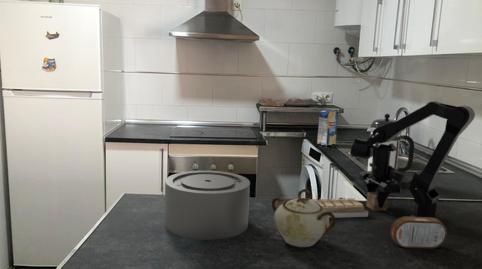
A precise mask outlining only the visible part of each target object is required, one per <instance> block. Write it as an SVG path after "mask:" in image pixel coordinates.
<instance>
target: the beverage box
mask: <svg viewBox="0 0 482 269" xmlns="http://www.w3.org/2000/svg"><path fill="white" fill-rule="evenodd" d="M318 114H319V115H318V128H317V140H316V142H317V143H316V145H317V144H321V145H326V146H327V145H332V144H337V131H338V118H339V111H337V110H321V111H319V113H318Z"/></svg>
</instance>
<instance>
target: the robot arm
mask: <svg viewBox="0 0 482 269" xmlns="http://www.w3.org/2000/svg"><path fill="white" fill-rule="evenodd" d="M432 116H436V117H439V118H442V119H444V120H446V122H445V129H444V132H443V133H442V135H441V137H440V139H439V141H438V143H437V145H436V146H435V148H434V151H433V152H432V154H431V155H430V158H429V160H428V161H427V163H426V165H425V167H424V168H423V170H418V171H415V172H414V174H413V176H412V179H411V180H410V181H409V182H408V184H409V191H410V194H411V195H412V196H413V199H414V203H415V208H414V214H413V215H410V217H431V218H436V217H437V210H438V204H437V202H438V201H439V200H440V198H441V194H440V193H439V191H437V190H436V188H435V187H436V184H437V179H438V175H439V174H438V173H439V172H440V171H441V168H442V167H443V165H444V163H445V161H446V159H447V158H448V156H449V154H450V152H451V150H452V149H453V147H454V145H455V143H457V140H458V138H459V137H460V136H461V134H462V133H463V132H464V131H465V130H467V128H468V127H469V126H470V125H471V123H473V121H474V120H475V116H476V114H475V111H474V109H473V108H472V107H470V106H469V105H459V106H457V105H452V104H447V103H443V102H439V101H429V102H427V103H426V104H425V105H423V106H422V107H420V108H417V109H416V110H414V111H412V112H410V113H408V114H406V115H405V116H403V117H401V118H399V119H398V120H395V122H392V123H389V124H385V125H382V126H379V127H376V128H375V129H374V130H373V134H372V136H371V137H370V136H369V138H368V139H362V138H354V140H353V141H354V142H353V143H352V146H351V148H350V155H351V158H358V159H362V160H368V159H369V158H370V157H372V156H373V159H372V163H370V165H369V166H371V167H372V169H371V171H368V170H365V171H363V170H361V171H360V172H359V173H358V179H359V180H361V181H362V184H363V186H364V187H365V189H366V192H367V193H368V192H376V195H377V201H378V206H379V208H382V207H383V205H384V203H385V201H386V199H387V197H388V198H389V195H390V194H400V193H402V186H401V185H400V184H402V182H403V180H404V179H405V178H404V177H405V174H402V173H401V172H396V171H395V168H393V167H392V166H390V165H389V163H390V153H391V151H396V150H397V148H396V147H395V146H394V144H393V143H392V144H389V145H385V144H380V145H379V146H375V145H374V144H378V143H385V142H389V141H391V140H393V139H394V138H395V137H397V136H398V135H399V134H400V135H401V134H402V133H403V131H405V130H407V129H409V128H411V127H413V126H415V125H417V124H419V123H421V122H422V121H425V120H426V119H428V118H430V117H432ZM392 180H393V182H390V181H392ZM394 180H395V181H397V183H396V182H395V181H394ZM436 219H437V218H436Z"/></svg>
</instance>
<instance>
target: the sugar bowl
mask: <svg viewBox="0 0 482 269" xmlns="http://www.w3.org/2000/svg"><path fill="white" fill-rule="evenodd" d="M303 193H306V194H307V197H302V196H301V195H302V194H303ZM310 199H311V192H310V191H309V190H308V189H307V188H303V189H301V190H300V191H298V194H297V198H293V199H289V200H287V199H284V198H282V197H280V196H276V197H275V196H274V198H272V200H271V207H272V210H273V211H274V216H273V217H274V218H273V220H274V223H275V226H276V228H277V231H278V232H279V234H280V235H281V236H282V238H283V240H284V241H285V243H287V244H289V245H290V246H293V247H298V248H307V247H308V248H309V247H312V246H314V245H315V244H316V243H317V242H318V241H319V240H320V239H321V238H322V237H324V236H325V235H326V234H327V233H328V232H329V231H330V230H332V229H333V228H334V227H335V225H336V222H337V221H336V220H337V219H336V218H335V216H334V215H333V213H332V212H328V211H325V210H324V209H323V207H322V206H321V205H320V204H318V203H316V202H313V201H311V200H310ZM276 201H277V202H278V205H276ZM282 202H283V203H282ZM328 215H329V216H330V217H331V223H330V218H329V217H328Z"/></svg>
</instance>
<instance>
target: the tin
mask: <svg viewBox="0 0 482 269" xmlns="http://www.w3.org/2000/svg"><path fill="white" fill-rule="evenodd" d="M389 232H390V237H391V238H392V240H393V241H394V242H395V243H396V244H397V245H398V246H400V247H401V248H405V249H408V248H409V249H431V250H432V249H436V248H437V249H438V248H439V247H441V246H442V245H443V244H444V243H445V242H446V239H447V236H448V230H447V227H446V226H445V225H444V223H443V222H442V221H441V220H440V219H438V218H431V217H411V216H401V217H398V218H397V219H396V220H395V221H394V222H393V223H392V224H391V226H390V231H389Z"/></svg>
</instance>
